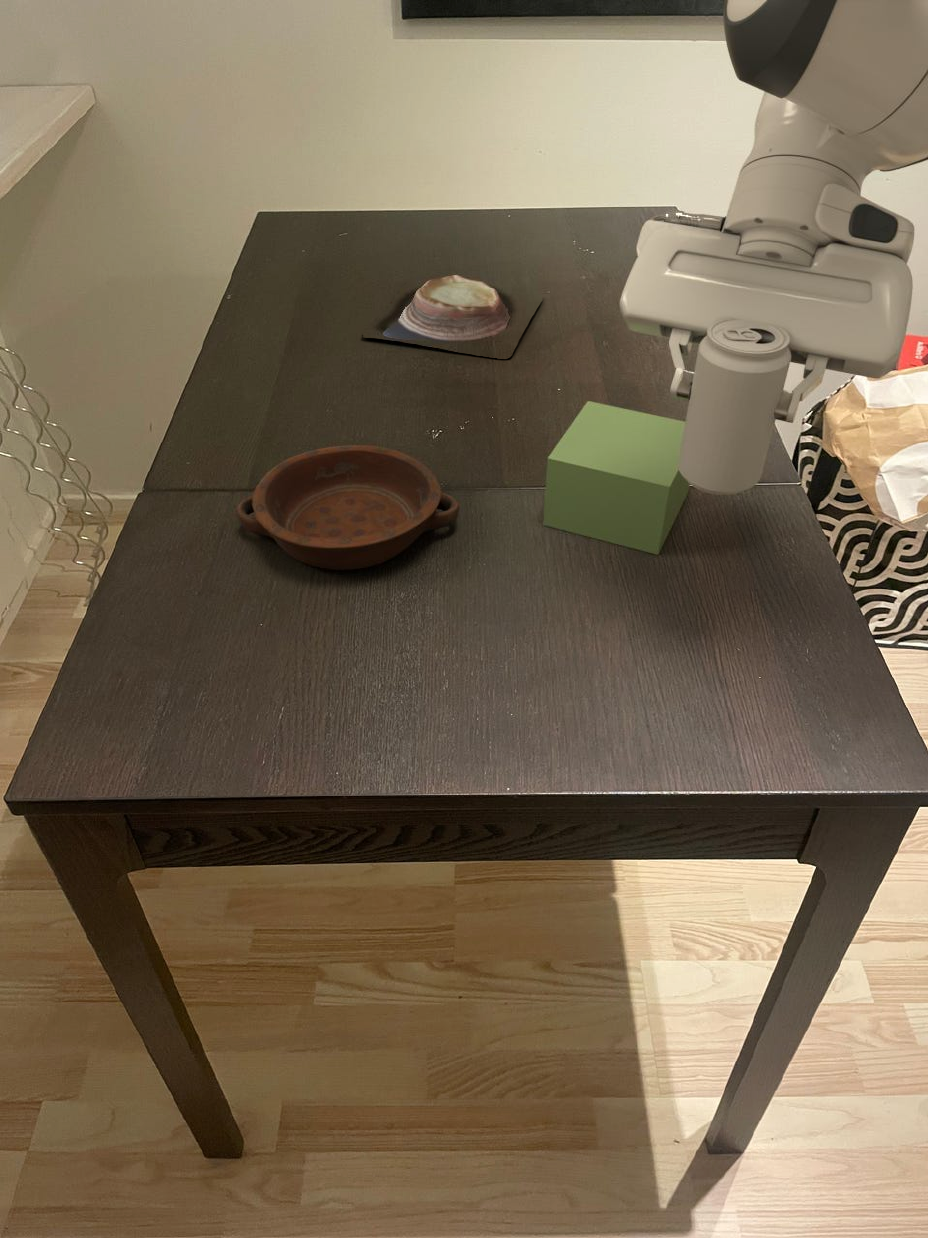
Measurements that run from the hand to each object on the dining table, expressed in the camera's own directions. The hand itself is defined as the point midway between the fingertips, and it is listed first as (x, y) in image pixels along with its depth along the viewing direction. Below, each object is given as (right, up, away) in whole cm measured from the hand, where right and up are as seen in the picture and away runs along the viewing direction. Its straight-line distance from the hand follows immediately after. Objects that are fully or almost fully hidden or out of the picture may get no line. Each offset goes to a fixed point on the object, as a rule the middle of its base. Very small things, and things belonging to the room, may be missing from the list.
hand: (731, 408), depth 70 cm
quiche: (-21, +26, +63) cm, 71 cm away
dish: (-31, -7, +26) cm, 41 cm away
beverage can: (0, -5, +5) cm, 7 cm away
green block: (-4, -4, +29) cm, 30 cm away
